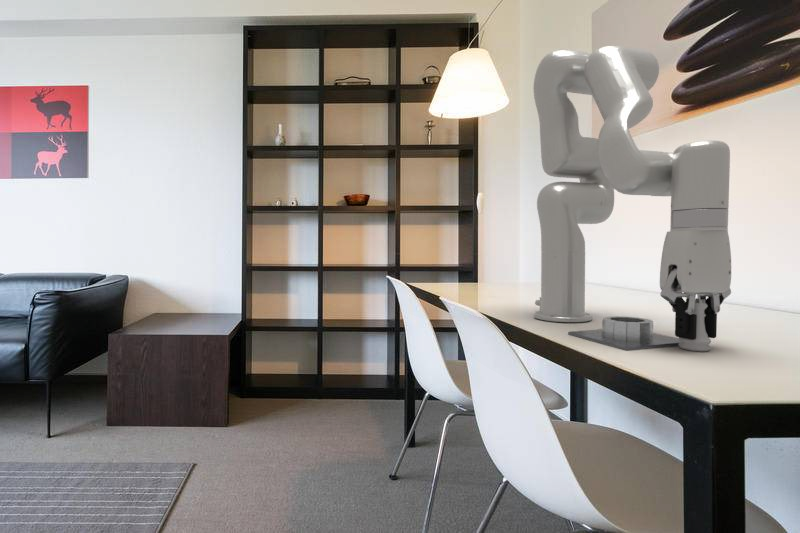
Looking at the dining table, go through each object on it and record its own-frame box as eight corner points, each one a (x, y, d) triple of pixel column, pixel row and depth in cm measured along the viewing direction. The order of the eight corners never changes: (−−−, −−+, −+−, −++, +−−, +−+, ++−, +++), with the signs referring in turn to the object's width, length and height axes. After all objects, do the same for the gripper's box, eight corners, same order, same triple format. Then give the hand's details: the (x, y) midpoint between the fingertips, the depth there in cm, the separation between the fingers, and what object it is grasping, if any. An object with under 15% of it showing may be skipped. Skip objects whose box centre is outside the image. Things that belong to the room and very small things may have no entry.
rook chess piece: (717, 352, 67) (718, 301, 66) (685, 351, 68) (686, 300, 67) (703, 346, 71) (704, 297, 71) (673, 345, 72) (674, 297, 72)
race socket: (568, 334, 82) (568, 316, 82) (627, 329, 86) (627, 312, 86) (626, 350, 69) (626, 328, 68) (693, 344, 73) (693, 323, 73)
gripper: (713, 224, 74) (710, 330, 75) (637, 223, 69) (635, 336, 70) (761, 221, 67) (757, 338, 68) (679, 220, 62) (676, 346, 63)
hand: (695, 336), depth 69 cm, fingers closed on rook chess piece, 3 cm apart
